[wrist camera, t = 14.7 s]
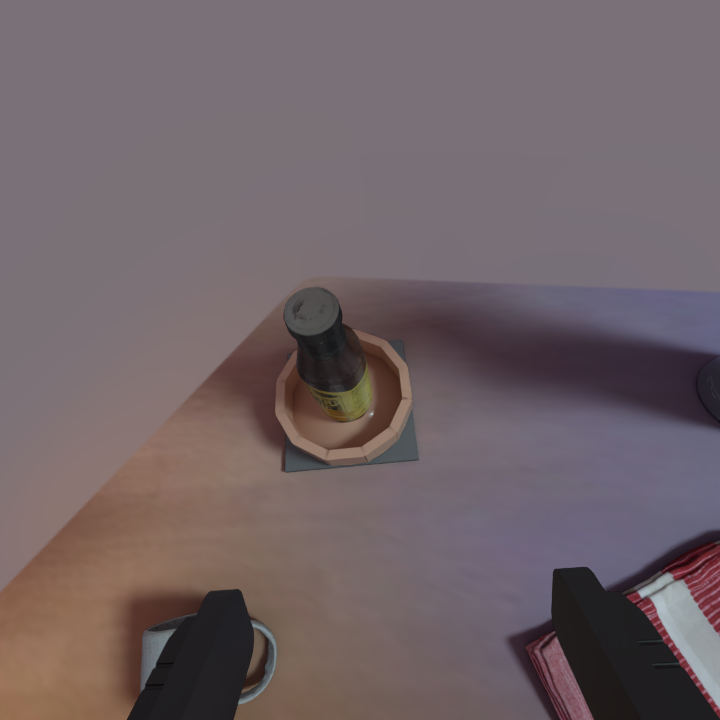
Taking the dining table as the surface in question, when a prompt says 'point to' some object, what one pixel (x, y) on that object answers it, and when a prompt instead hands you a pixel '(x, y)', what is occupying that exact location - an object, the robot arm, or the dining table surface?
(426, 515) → the dining table surface
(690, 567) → the dish towel
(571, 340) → the dining table surface
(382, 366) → the bowl
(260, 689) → the ceramic mug
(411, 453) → the mat
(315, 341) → the sauce bottle
